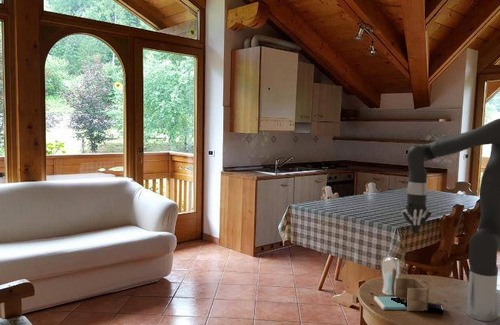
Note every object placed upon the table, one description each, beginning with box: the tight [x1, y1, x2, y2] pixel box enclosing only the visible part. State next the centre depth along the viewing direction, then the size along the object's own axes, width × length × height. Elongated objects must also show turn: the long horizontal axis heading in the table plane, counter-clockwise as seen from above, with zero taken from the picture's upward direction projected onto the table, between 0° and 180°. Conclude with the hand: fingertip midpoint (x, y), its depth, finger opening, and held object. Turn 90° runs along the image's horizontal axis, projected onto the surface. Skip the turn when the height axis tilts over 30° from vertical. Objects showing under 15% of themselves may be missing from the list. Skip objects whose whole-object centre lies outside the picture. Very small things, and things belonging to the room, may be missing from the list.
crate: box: [394, 277, 430, 312], centre depth 166 cm, size 8×12×9 cm
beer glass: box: [381, 256, 400, 296], centre depth 178 cm, size 7×7×15 cm
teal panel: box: [373, 296, 407, 311], centre depth 166 cm, size 1×10×9 cm
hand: (414, 233), depth 175 cm, fingers closed
